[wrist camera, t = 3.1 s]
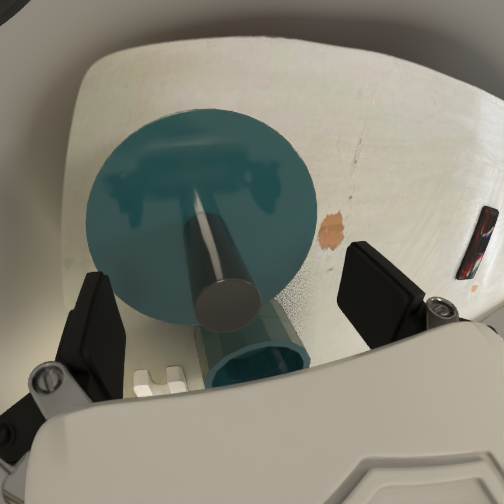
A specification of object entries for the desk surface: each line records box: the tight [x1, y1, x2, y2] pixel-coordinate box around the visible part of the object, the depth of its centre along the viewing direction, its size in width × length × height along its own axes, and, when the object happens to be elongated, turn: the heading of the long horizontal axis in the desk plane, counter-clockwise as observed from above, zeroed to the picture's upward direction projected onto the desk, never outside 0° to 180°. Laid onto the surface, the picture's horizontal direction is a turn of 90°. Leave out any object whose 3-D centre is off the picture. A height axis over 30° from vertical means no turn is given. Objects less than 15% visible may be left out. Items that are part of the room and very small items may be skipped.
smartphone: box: [457, 206, 499, 280], centre depth 43 cm, size 7×1×15 cm
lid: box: [86, 109, 317, 332], centre depth 13 cm, size 13×13×6 cm
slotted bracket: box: [134, 366, 188, 397], centre depth 36 cm, size 13×7×8 cm, turn 0°
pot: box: [195, 298, 311, 389], centre depth 33 cm, size 12×12×8 cm
